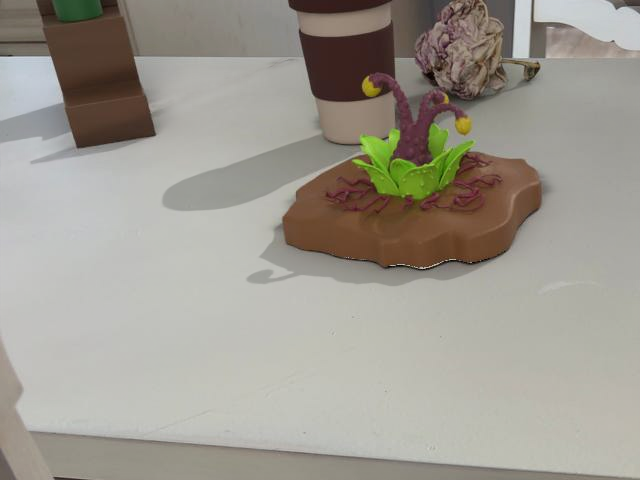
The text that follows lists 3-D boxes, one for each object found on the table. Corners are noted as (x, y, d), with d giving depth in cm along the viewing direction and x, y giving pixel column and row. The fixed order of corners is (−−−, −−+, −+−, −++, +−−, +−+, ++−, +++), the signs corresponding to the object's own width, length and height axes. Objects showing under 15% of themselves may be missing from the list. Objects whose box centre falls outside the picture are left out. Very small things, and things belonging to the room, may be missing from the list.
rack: (156, 135, 105) (124, 12, 98) (77, 148, 103) (38, 24, 96) (143, 102, 115) (113, -12, 107) (70, 114, 113) (35, -2, 105)
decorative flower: (510, 25, 115) (389, 13, 108) (558, -18, 106) (429, -33, 99) (521, 119, 116) (402, 114, 109) (570, 84, 107) (443, 76, 100)
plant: (359, 167, 94) (341, 35, 87) (563, 182, 88) (562, 41, 81) (251, 256, 80) (219, 107, 73) (485, 280, 74) (475, 120, 67)
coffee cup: (346, 114, 107) (324, -50, 97) (427, 123, 103) (412, -47, 93) (290, 144, 100) (260, -28, 91) (374, 155, 96) (352, -24, 87)
